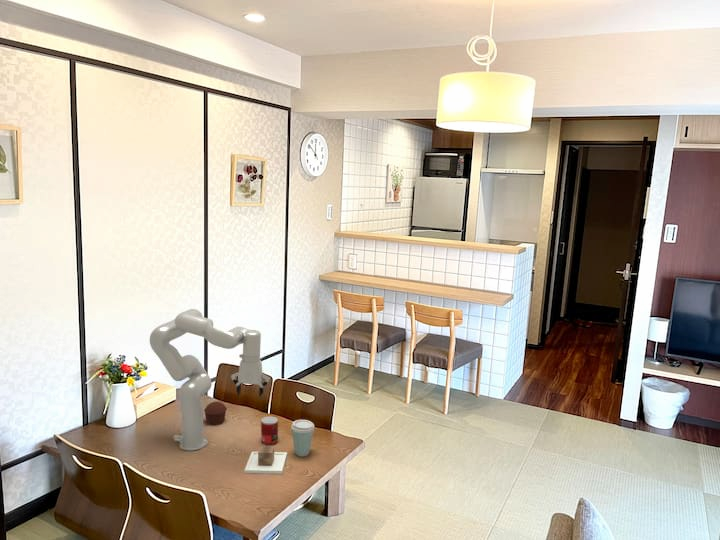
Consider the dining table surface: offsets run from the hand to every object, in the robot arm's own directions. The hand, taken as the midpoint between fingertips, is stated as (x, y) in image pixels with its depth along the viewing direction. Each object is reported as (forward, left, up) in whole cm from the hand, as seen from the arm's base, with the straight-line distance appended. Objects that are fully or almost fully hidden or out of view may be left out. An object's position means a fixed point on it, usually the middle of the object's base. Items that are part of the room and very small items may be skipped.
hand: (249, 394), depth 243 cm
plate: (+9, -9, -29) cm, 31 cm away
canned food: (+7, +12, -29) cm, 32 cm away
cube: (+9, -9, -28) cm, 30 cm away
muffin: (-24, +32, -29) cm, 49 cm away
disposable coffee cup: (+24, +1, -29) cm, 37 cm away
